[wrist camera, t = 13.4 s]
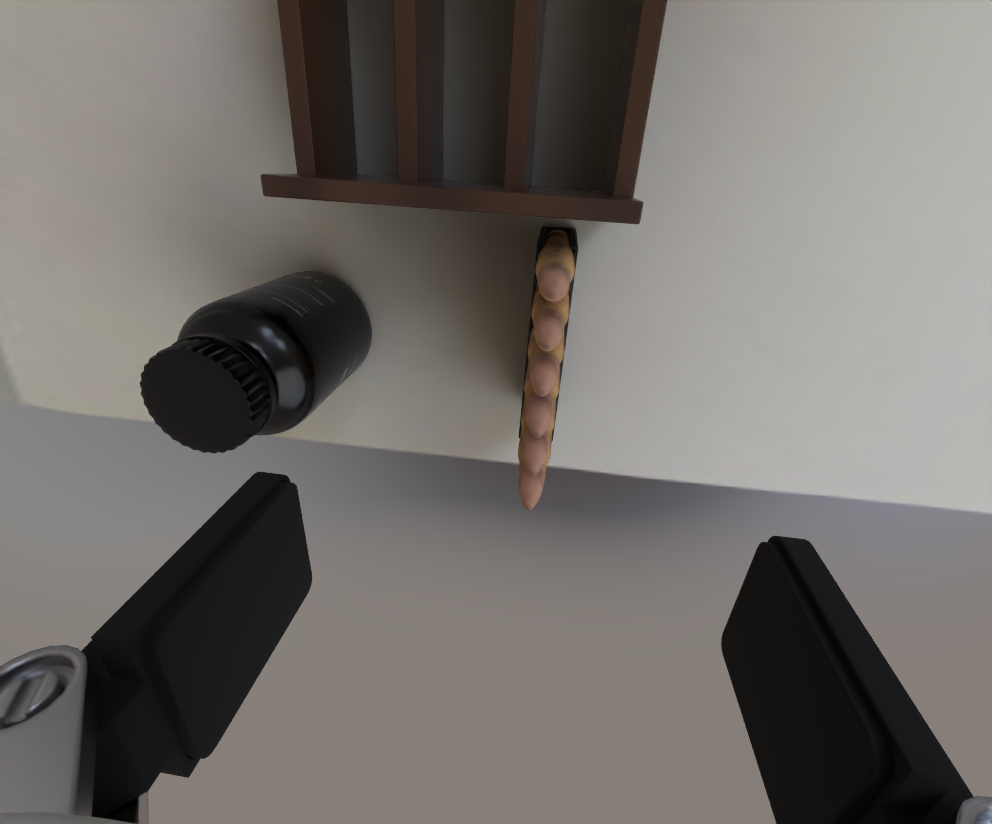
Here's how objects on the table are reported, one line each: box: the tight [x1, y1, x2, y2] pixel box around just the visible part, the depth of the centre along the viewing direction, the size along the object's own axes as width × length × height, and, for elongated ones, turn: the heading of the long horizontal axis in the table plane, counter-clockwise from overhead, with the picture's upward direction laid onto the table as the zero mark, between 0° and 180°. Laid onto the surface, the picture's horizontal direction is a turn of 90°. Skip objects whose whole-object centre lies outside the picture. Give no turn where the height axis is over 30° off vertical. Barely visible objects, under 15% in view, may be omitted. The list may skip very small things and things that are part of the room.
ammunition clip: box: [518, 226, 578, 510], centre depth 23 cm, size 11×2×12 cm, turn 177°
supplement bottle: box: [140, 271, 372, 453], centre depth 25 cm, size 7×7×12 cm
